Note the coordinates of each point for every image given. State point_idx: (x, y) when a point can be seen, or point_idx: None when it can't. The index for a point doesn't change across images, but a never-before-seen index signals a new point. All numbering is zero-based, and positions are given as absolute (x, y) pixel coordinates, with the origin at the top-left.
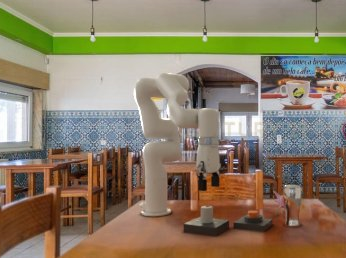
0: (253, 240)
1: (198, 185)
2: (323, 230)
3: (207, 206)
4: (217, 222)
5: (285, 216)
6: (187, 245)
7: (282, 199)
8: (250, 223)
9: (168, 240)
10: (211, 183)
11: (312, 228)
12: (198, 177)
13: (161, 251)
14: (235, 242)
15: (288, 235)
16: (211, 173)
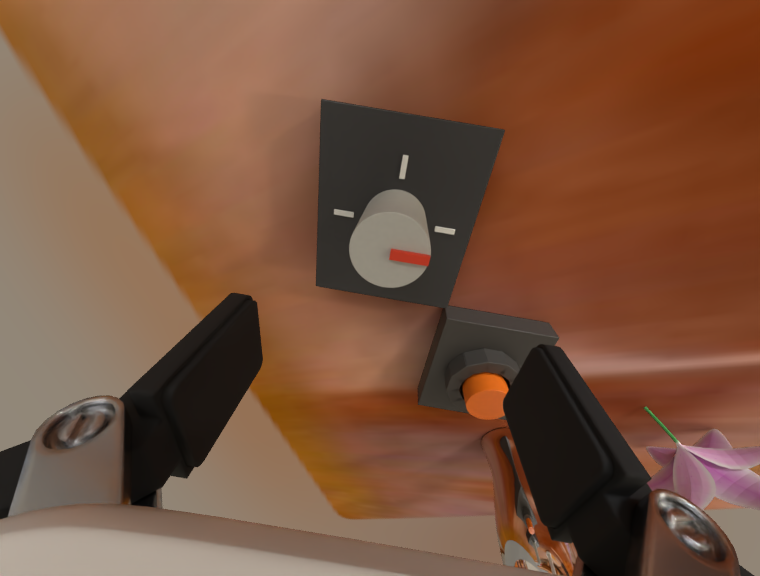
0: (329, 373)
1: (200, 325)
2: (456, 484)
3: (389, 258)
4: None
5: (510, 456)
6: (191, 205)
7: (692, 489)
8: (439, 371)
9: (192, 85)
10: (547, 371)
11: (471, 471)
12: (19, 454)
13: (80, 132)
14: (293, 337)
15: (398, 433)
16: (644, 547)
